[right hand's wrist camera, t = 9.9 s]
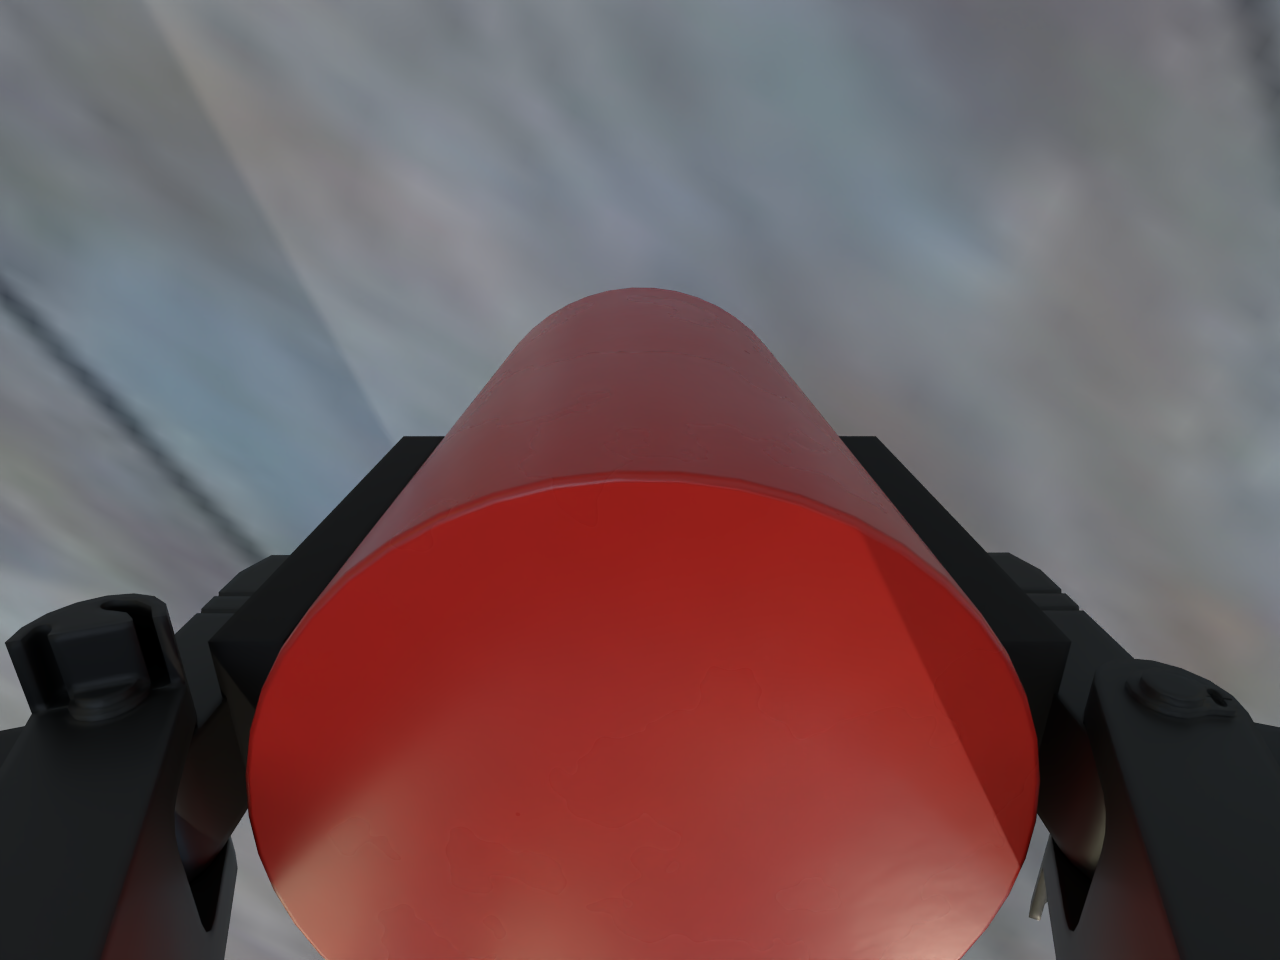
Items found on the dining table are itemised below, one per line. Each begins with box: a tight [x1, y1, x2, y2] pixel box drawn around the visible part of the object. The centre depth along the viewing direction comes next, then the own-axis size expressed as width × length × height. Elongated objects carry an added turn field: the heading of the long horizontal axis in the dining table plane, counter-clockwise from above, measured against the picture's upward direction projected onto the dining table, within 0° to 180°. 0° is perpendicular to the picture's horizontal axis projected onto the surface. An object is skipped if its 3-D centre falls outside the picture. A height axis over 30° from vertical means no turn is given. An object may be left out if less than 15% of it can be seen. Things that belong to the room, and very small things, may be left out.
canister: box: [246, 288, 1040, 960], centre depth 12 cm, size 7×7×11 cm
